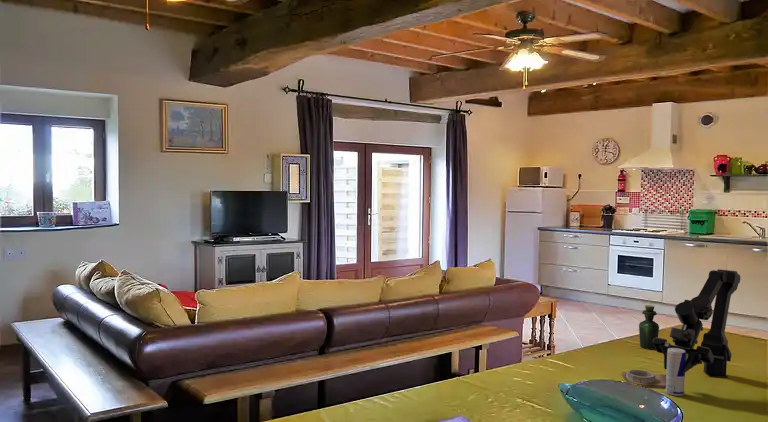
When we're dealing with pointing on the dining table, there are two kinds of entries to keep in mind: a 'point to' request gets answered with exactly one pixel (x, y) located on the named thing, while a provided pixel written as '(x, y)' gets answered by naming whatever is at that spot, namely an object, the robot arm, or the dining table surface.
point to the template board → (645, 378)
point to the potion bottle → (648, 328)
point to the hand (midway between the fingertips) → (673, 370)
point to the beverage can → (675, 371)
